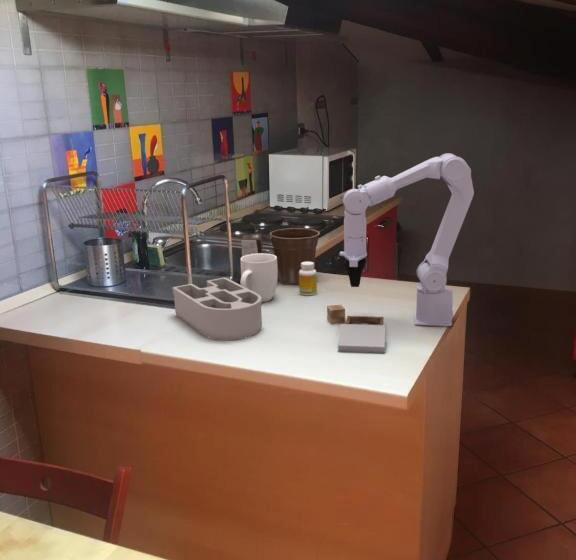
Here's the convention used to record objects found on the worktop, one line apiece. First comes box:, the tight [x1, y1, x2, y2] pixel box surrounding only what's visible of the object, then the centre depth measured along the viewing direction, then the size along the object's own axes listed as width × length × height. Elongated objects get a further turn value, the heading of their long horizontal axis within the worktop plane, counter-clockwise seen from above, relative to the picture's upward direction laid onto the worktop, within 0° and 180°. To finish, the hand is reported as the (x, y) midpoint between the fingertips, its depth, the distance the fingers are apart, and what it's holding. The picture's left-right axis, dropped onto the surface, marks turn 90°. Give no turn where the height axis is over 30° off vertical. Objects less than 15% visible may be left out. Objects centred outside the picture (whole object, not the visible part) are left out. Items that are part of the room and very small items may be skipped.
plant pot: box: [269, 227, 321, 286], centre depth 209 cm, size 16×16×16 cm
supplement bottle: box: [298, 262, 318, 296], centre depth 196 cm, size 5×5×10 cm
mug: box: [239, 252, 278, 303], centre depth 190 cm, size 15×11×13 cm
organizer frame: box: [345, 315, 385, 325], centre depth 164 cm, size 10×14×2 cm
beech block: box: [326, 304, 346, 325], centre depth 172 cm, size 4×4×4 cm
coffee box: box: [240, 233, 264, 257], centre depth 206 cm, size 9×6×16 cm
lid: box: [337, 323, 386, 354], centre depth 155 cm, size 11×8×2 cm
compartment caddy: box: [172, 276, 263, 341], centre depth 173 cm, size 17×28×9 cm, turn 31°
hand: (355, 286), depth 169 cm, fingers closed
